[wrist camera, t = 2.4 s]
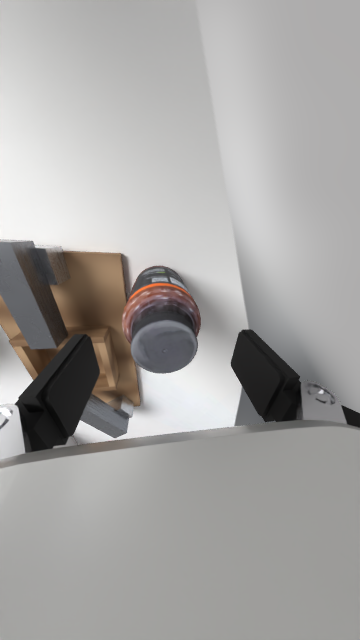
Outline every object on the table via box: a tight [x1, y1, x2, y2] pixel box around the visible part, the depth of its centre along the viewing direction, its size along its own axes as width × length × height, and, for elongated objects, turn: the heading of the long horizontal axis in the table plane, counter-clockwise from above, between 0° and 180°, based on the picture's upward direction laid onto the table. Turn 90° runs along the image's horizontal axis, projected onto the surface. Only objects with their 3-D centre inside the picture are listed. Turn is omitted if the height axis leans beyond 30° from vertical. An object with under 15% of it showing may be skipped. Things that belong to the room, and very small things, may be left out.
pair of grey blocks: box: [0, 240, 134, 438], centre depth 19 cm, size 28×8×5 cm, turn 177°
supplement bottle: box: [122, 266, 201, 373], centre depth 14 cm, size 6×6×11 cm
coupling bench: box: [0, 251, 140, 406], centre depth 20 cm, size 26×14×3 cm, turn 177°
